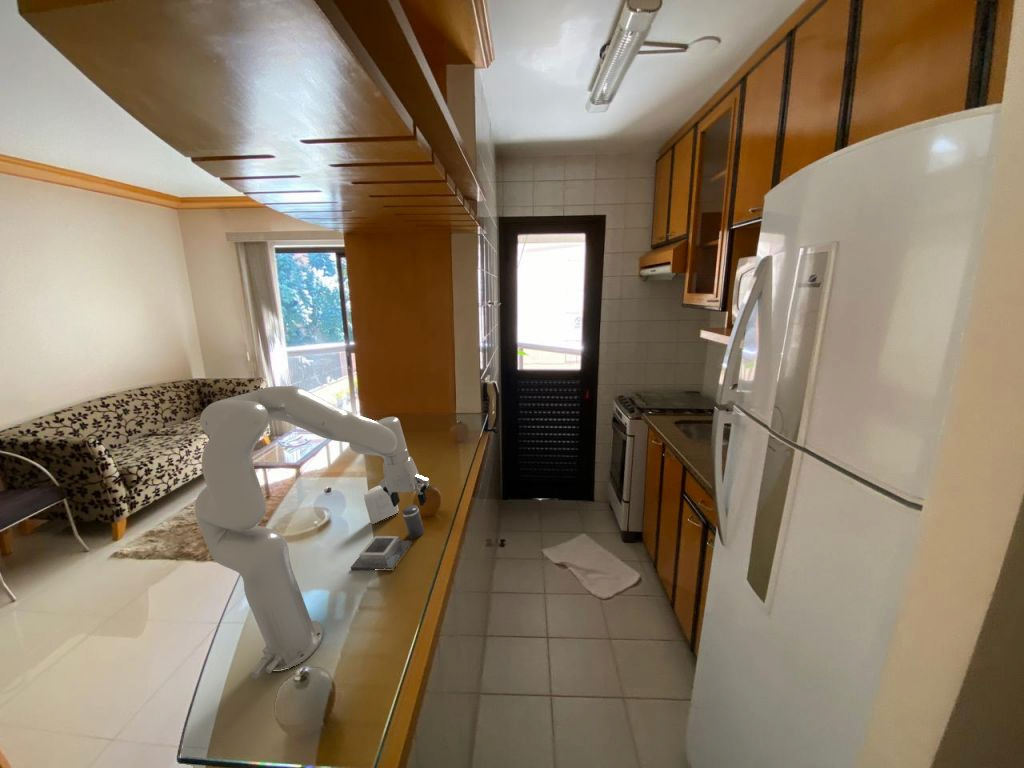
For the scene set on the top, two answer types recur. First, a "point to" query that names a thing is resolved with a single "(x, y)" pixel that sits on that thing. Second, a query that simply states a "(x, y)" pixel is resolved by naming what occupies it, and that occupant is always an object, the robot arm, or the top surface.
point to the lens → (413, 521)
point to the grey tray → (381, 553)
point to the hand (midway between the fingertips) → (410, 503)
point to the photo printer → (379, 504)
